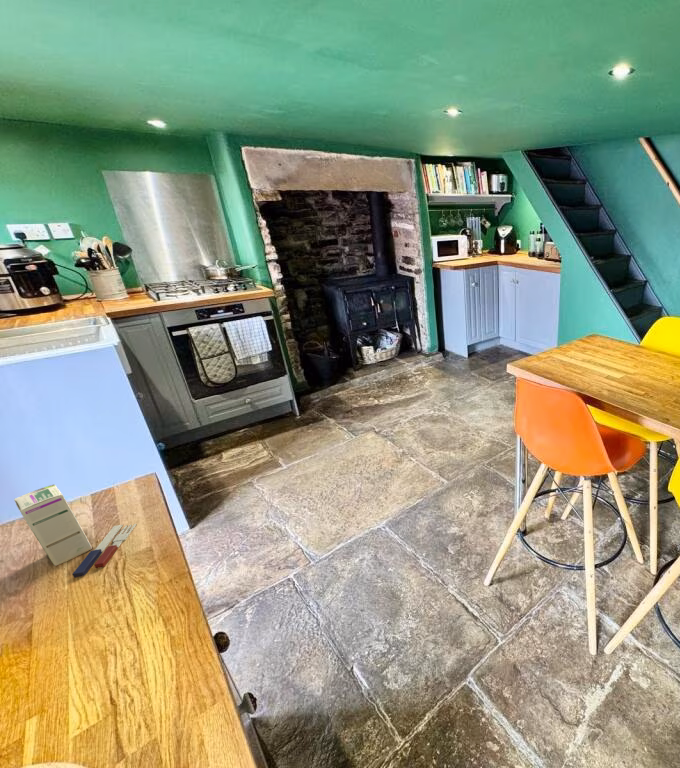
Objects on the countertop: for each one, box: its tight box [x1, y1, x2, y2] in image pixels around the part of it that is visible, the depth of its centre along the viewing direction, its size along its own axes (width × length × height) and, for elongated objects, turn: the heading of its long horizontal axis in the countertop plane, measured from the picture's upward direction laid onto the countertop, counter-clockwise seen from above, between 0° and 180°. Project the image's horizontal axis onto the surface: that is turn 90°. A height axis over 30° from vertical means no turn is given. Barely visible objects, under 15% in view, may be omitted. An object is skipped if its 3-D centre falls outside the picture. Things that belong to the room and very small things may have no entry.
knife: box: [72, 524, 124, 579], centre depth 83 cm, size 2×14×1 cm, turn 18°
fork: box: [93, 523, 137, 569], centre depth 84 cm, size 2×12×1 cm, turn 18°
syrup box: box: [13, 484, 93, 567], centre depth 80 cm, size 6×6×14 cm
